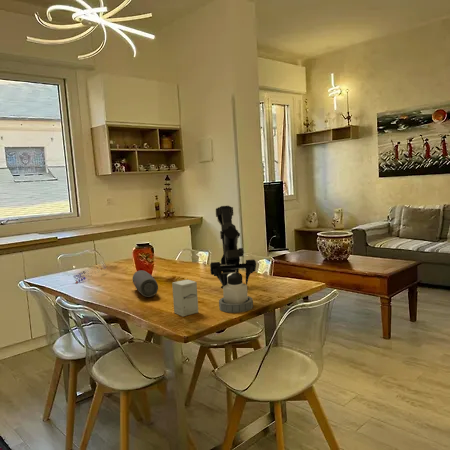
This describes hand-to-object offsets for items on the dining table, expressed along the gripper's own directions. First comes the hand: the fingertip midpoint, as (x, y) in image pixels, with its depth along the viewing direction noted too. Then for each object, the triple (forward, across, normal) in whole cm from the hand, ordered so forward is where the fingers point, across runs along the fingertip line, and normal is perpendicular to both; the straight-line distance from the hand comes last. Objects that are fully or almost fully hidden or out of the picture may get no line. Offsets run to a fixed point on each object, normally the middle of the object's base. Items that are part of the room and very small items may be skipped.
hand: (235, 284), depth 173 cm
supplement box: (+8, -20, +7) cm, 23 cm away
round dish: (+6, 0, +8) cm, 10 cm away
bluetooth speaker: (-17, -40, +31) cm, 54 cm away
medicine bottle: (+4, 0, +7) cm, 8 cm away
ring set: (-46, -75, +62) cm, 108 cm away
